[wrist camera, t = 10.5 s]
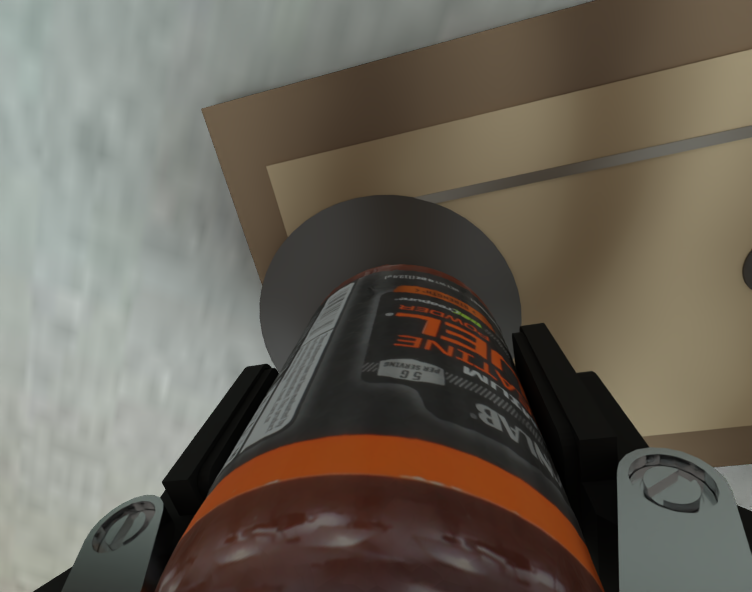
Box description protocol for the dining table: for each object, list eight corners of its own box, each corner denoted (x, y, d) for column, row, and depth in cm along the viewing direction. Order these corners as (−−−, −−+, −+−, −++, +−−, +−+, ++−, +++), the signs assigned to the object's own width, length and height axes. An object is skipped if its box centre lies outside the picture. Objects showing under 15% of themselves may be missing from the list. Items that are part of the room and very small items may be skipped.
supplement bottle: (541, 318, 12) (1345, 1546, 2) (434, 451, 14) (478, 1328, 4) (363, 218, 11) (-210, 1134, 1) (280, 373, 14) (-166, 1160, 3)
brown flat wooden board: (971, -96, 10) (1048, -127, 9) (848, 433, 15) (884, 459, 14) (202, 114, 13) (181, 112, 12) (330, 483, 19) (324, 507, 18)
